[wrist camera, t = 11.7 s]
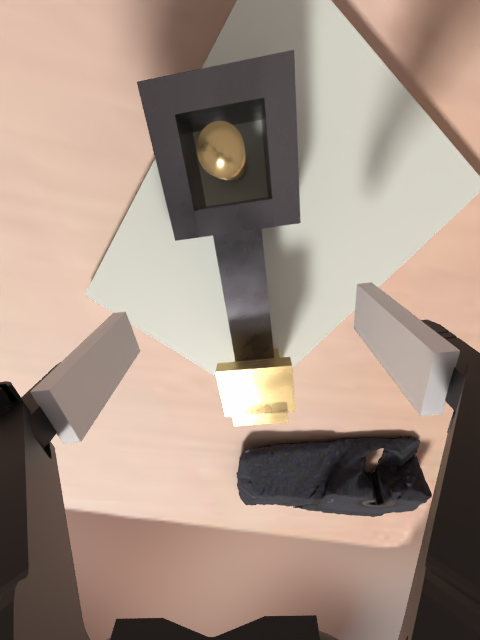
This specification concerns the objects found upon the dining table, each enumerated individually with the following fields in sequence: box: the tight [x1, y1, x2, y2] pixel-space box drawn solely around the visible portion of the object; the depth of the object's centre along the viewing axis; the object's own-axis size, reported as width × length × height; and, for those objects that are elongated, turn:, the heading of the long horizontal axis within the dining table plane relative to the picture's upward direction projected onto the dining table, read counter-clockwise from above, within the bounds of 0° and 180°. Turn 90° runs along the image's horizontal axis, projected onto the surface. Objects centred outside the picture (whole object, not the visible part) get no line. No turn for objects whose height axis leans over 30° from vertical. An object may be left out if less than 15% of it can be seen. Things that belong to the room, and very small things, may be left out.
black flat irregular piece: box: [237, 437, 432, 517], centre depth 32 cm, size 15×22×5 cm
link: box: [137, 50, 301, 362], centre depth 18 cm, size 17×8×4 cm, turn 8°
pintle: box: [197, 121, 247, 182], centre depth 14 cm, size 2×2×8 cm
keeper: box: [216, 349, 295, 426], centre depth 22 cm, size 5×5×8 cm
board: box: [84, 0, 480, 377], centre depth 21 cm, size 19×25×1 cm
